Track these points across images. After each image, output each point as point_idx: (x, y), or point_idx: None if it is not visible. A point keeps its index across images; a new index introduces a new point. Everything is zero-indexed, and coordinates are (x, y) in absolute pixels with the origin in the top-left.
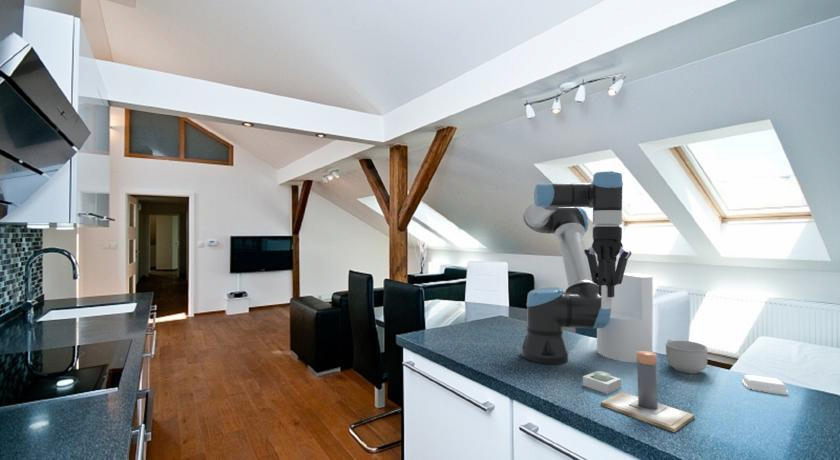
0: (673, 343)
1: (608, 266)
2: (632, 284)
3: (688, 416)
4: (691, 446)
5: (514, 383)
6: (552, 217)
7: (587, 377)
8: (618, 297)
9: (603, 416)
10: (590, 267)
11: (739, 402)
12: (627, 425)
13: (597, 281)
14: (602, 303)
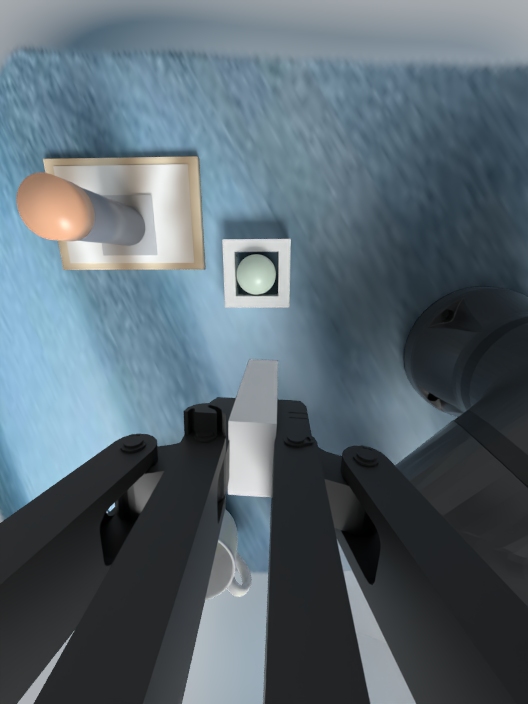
0: (228, 577)
1: (122, 641)
2: None
3: (63, 249)
4: (3, 126)
5: (418, 78)
6: None
7: (278, 241)
8: None
9: (161, 100)
10: (510, 609)
11: (71, 419)
12: (109, 104)
13: (332, 463)
14: (270, 369)
